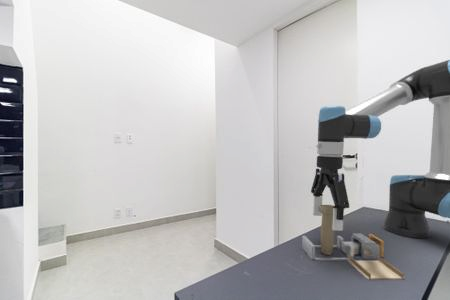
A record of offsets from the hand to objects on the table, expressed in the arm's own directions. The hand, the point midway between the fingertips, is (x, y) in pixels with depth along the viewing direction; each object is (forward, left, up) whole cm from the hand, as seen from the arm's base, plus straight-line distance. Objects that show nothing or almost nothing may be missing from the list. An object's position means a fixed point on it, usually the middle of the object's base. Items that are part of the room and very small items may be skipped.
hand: (326, 222), depth 75 cm
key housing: (-13, 0, -10) cm, 17 cm away
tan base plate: (-9, +10, -10) cm, 17 cm away
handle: (0, 0, -10) cm, 10 cm away
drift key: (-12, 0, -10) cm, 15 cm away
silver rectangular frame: (0, 0, -10) cm, 10 cm away
